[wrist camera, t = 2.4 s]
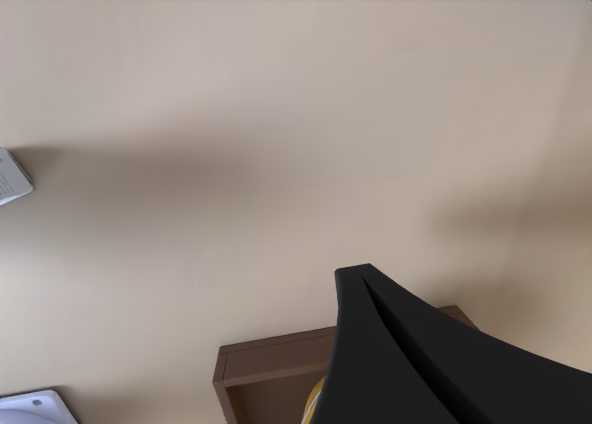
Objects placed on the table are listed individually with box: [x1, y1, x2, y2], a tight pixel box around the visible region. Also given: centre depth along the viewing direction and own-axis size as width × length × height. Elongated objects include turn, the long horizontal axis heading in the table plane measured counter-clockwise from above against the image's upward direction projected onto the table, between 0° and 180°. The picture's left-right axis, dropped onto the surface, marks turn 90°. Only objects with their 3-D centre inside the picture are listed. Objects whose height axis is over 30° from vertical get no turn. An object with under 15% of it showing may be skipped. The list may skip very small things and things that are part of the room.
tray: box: [212, 306, 480, 424], centre depth 19 cm, size 15×13×2 cm
